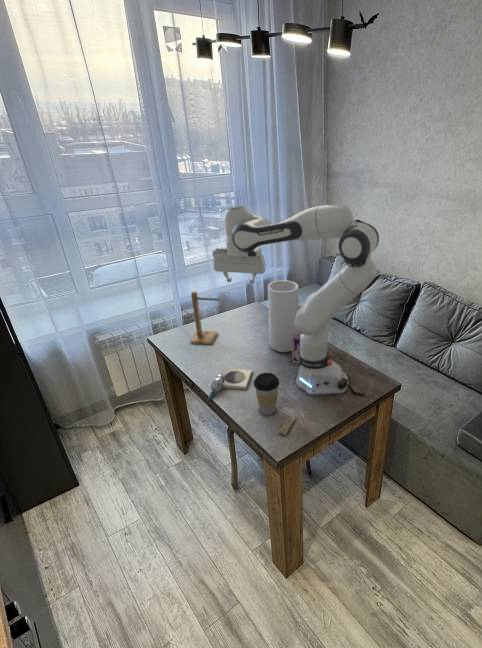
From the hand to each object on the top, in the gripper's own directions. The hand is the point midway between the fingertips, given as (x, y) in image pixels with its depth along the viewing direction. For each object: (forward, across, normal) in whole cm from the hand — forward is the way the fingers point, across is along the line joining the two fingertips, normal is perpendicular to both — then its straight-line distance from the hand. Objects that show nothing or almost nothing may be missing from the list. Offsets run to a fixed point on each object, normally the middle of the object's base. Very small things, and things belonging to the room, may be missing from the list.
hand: (240, 282), depth 161 cm
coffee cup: (+39, +15, -32) cm, 53 cm away
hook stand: (+39, -22, +18) cm, 49 cm away
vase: (+39, +15, +16) cm, 45 cm away
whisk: (+34, -6, -17) cm, 39 cm away
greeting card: (+39, +27, +2) cm, 48 cm away
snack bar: (+39, +24, -40) cm, 61 cm away
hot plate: (+39, -2, -14) cm, 42 cm away
